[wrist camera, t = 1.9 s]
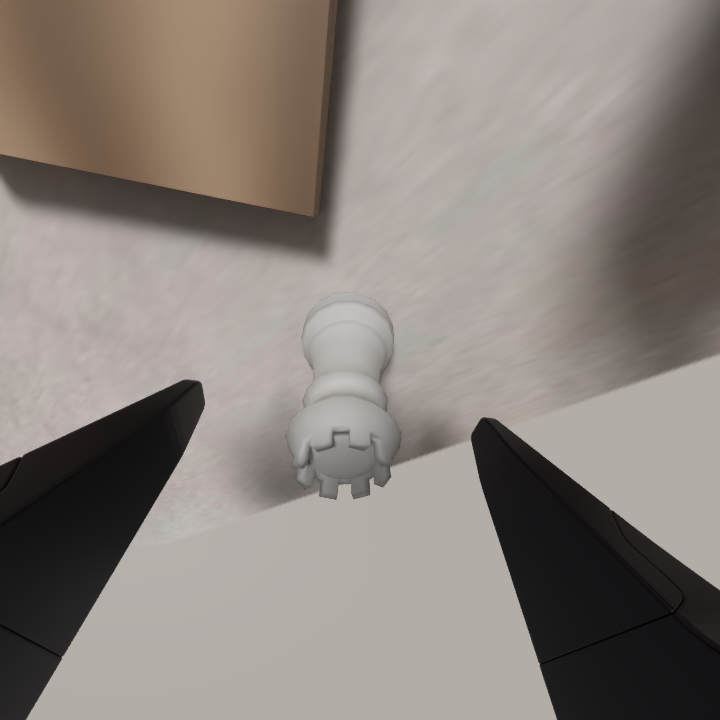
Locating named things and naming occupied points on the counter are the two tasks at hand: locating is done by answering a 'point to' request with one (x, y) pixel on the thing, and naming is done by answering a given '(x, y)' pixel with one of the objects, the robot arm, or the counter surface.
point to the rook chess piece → (345, 398)
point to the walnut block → (173, 93)
